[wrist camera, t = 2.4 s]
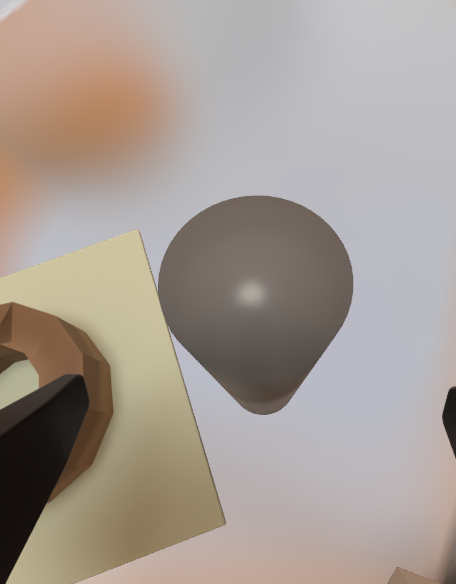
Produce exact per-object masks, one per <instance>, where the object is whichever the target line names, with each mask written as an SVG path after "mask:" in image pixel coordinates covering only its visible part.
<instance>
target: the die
mask: <svg viewBox="0 0 456 584" xmlns="http://www.w3.org/2000/svg"><path fill="white" fill-rule="evenodd" d="M388 584H440V583H437V582H435V581H432V580H430V579H427V578H424V577H422V576H419V575H417V574H414V573H412V572H409V571H407V570H404V569H401V568H399V567H396V570H395V571H394V573H393V575H392V577H391V579H390V580H389V583H388Z"/></svg>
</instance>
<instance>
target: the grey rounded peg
mask: <svg viewBox="0 0 456 584" xmlns="http://www.w3.org/2000/svg"><path fill="white" fill-rule="evenodd" d="M158 292H159V301H160V306H161V310H162V313H163V316H164V318H165V321H166V323H167V325H168V327H169V328H170V330H171V332H172V333H173V334H174V336H175V337H176V339H177V340H178V341H179V342H180V343H181V344H182V346H183V347H184V348H185V349H187V351H188V352H190V354H191V355H192V356H193V357H194V358H195V359H196V360H198V362H199V363H200V364H201V365H202V366H203V367H204V368H205V369H206V370H207V371H208V372H209V373H210V374H211V375H212V376H213V377H214V378H215V379H216V380H217V381H218V383H220V385H221V386H222V387H223V388H224V389H225V390H226V391H227V392H228V393H229V394H230V395H231V396H232V397H233V398H234V399H235V400H236V401H237V402H238V403H239V404H240V405H241V406H242V407H243V408H244V409H246V410H248V411H249V412H252V413H255V414H260V415H267V414H272V413H275V412H277V411H279V410H281V409H282V408H283V407H284V406H286V404H287V403H288V402H289V401H290V399H291V398H292V396H293V395H294V394H295V392H296V391H297V389H298V388H299V386H300V385H301V384H302V382H303V381H304V379H305V378H306V377H307V375H308V374H309V372H310V371H311V370H312V368H313V367H314V365H315V364H316V363H317V361H318V360H319V358H320V357H321V356H322V354H323V352H324V351H325V350H326V348H327V347H328V346H329V344H330V343H331V341H332V340H333V339H334V337H335V336H336V334H337V333H338V331H339V330H340V328H341V327H342V325H343V323H344V321H345V319H346V317H347V314H348V311H349V308H350V305H351V300H352V294H353V274H352V267H351V263H350V260H349V256H348V254H347V251H346V249H345V247H344V245H343V243H342V242H341V240H340V238H339V237H338V235H337V234H336V233H335V231H334V230H333V229H332V228H331V227H330V226H329V225H328V224H327V223H326V222H325V221H324V220H323V219H322V218H321V217H319V216H318V215H316V214H315V213H314V212H312V211H311V210H309V209H307V208H305V207H303V206H302V205H299V204H297V203H294V202H291V201H288V200H285V199H281V198H276V197H270V196H244V197H238V198H233V199H229V200H226V201H223V202H220V203H218V204H215V205H213V206H211V207H209V208H207V209H205V210H203V211H202V212H200V213H199V214H197V215H196V216H195V217H193V218H192V219H191V220H190V221H189V222H187V223H186V224H185V225H184V226H183V228H181V230H180V231H179V232H178V233H177V234H176V236H175V237H174V238H173V240H172V241H171V243H170V245H169V247H168V249H167V251H166V253H165V255H164V258H163V261H162V264H161V268H160V272H159V282H158Z"/></svg>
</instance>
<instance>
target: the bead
mask: <svg viewBox="0 0 456 584" xmlns="http://www.w3.org/2000/svg"><path fill="white" fill-rule="evenodd" d="M28 359H29V361H30V363H31V364H32V366H33V367H34V369H35V370H36V372H37V373H38V375H39V388H41V387H42V386H44V385H46V384H48V383H50V382H52V381H53V380H55V379H57V378H59V377H61V376H63V375H65V374H81V375H83V377H84V379H85V383H86V387H87V391H88V395H89V400H90V403H89V408H88V411H87V414H86V416H85V419H84V421H83V424H82V427H81V429H80V432H79V434H78V437H77V439H76V442H75V445H74V447H73V450H72V452H71V455H70V457H69V459H68V462H67V464H66V466H65V468H64V470H63V472H62V474H61V476H60V478H59V480H58V482H57V484H56V486H55V488H54V490H53V492H52V494H51V496H50V498H49V500H48V502H47V503H49V502H51V501H52V500H53V499H54V498H55V497H56V496H58V495H59V494H60V493H61V492H62V491H63V490H64V489H65V488H66V487H68V486H69V485H70V484H71V483H72V482H73V481H74V480H75V479H77V478H78V477H79V476H80V475H81V474H82V473H83V472H84V471H85V470H87V469H88V468H89V467H90V466H91V465H92V464H93V461H94V459H95V457H96V454H97V452H98V449H99V447H100V445H101V442H102V440H103V438H104V435H105V433H106V430H107V428H108V426H109V423H110V421H111V418H112V416H113V413H114V412H113V399H112V386H111V372H110V365H109V363H108V362H107V361H106V359H105V358H104V357H103V355H102V354H101V353H100V351H99V350H98V348H97V347H96V346H95V344H94V343H93V342H92V340H91V339H90V338H89V336H88V335H87V334H86V332H84V331H82V330H80V329H79V328H77V327H75V326H73V325H71V324H70V323H68V322H66V321H64V320H62V319H60V318H59V317H57V316H55V315H52V314H49V313H46V312H43V311H40V310H36V309H33V308H30V307H27V306H24V305H21V304H18V303H15V302H10V303H5V304H1V305H0V374H1V373H2V372H4V371H5V370H6V369H7V368H9V367H10V366H11V365H12V364H14V363H15V362H19V361H24V360H28Z"/></svg>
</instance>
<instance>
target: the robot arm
mask: <svg viewBox="0 0 456 584" xmlns="http://www.w3.org/2000/svg"><path fill="white" fill-rule="evenodd" d="M89 403H90V400H89V395H88V391H87V387H86V383H85V379H84V377H83V375H81V374H65V375H63V376H61V377H59V378H57V379H55V380H53V381H52V382H50V383H48V384H46V385H44V386H42V387H41V388H39V389H37V390H35V391H33V392H31V393H30V394H28V395H26V396H24V397H22V398H20V399H19V400H17V401H15V402H13V403H11V404H9V405H8V406H6V407H4V408H2V409H0V584H6V582H7V580H8V578H9V576H10V574H11V572H12V570H13V568H14V566H15V564H16V563H17V561H18V559H19V557H20V555H21V553H22V551H23V549H24V547H25V545H26V543H27V541H28V539H29V537H30V535H31V533H32V531H33V529H34V527H35V525H36V523H37V521H38V519H39V517H40V515H41V513H42V512H43V510H44V508H45V506H46V504H47V502H48V500H49V498H50V496H51V494H52V492H53V490H54V488H55V486H56V484H57V482H58V480H59V478H60V476H61V474H62V472H63V470H64V468H65V466H66V464H67V462H68V459H69V457H70V455H71V452H72V450H73V447H74V445H75V442H76V439H77V437H78V434H79V432H80V429H81V427H82V424H83V421H84V419H85V416H86V414H87V411H88V408H89ZM442 419H443V424H444V427H445V430H446V432H447V435H448V438H449V441H450V444H451V447H452V449H453V452H454V455H455V457H456V387H455V386H454V387H452V388H450V389H449V392H448V395H447V399H446V402H445V406H444V410H443V415H442Z"/></svg>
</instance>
